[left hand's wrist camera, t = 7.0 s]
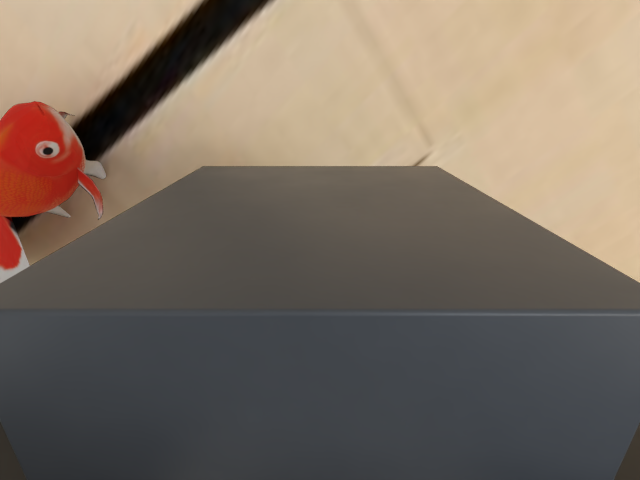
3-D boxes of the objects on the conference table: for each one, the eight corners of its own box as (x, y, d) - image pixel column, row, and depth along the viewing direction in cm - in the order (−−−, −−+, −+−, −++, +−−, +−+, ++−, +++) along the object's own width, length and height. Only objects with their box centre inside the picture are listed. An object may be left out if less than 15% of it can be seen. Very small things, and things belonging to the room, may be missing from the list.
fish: (189, 240, 21) (-35, 304, 13) (88, 294, 30) (-82, 352, 22) (119, 73, 21) (-154, 31, 13) (39, 177, 30) (-152, 192, 22)
